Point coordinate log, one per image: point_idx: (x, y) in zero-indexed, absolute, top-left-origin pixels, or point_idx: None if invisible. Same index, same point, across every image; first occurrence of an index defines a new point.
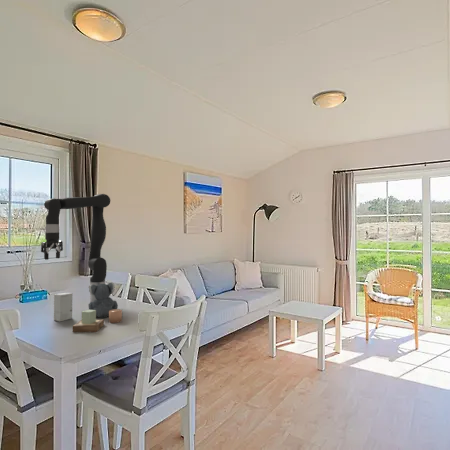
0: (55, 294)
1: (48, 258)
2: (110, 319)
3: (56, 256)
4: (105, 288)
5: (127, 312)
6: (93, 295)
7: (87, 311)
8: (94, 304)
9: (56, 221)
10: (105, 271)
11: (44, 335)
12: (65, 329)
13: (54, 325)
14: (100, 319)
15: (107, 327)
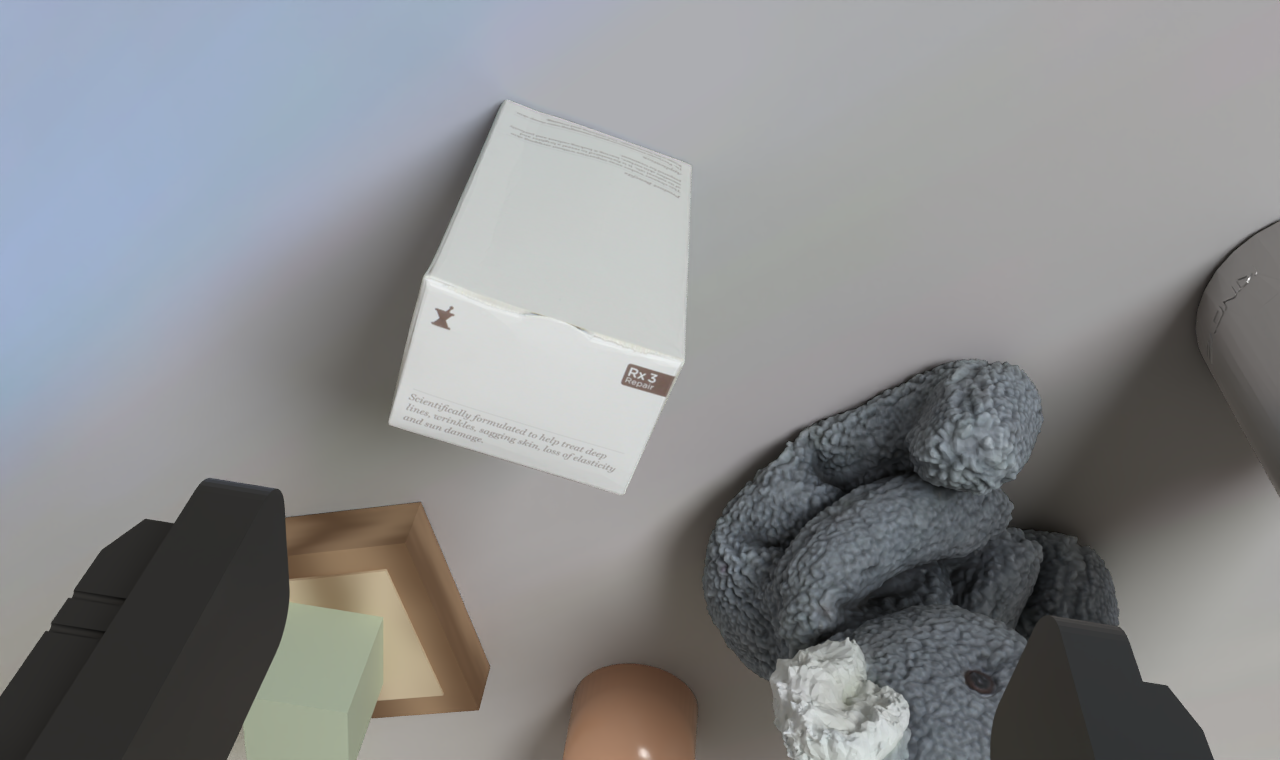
0: (428, 304)
1: (267, 664)
2: (572, 713)
3: (1052, 713)
4: None
5: None
6: (1276, 427)
7: (269, 737)
8: (777, 585)
9: None
10: None
11: (8, 354)
12: (242, 432)
13: (316, 246)
14: (468, 686)
15: None
